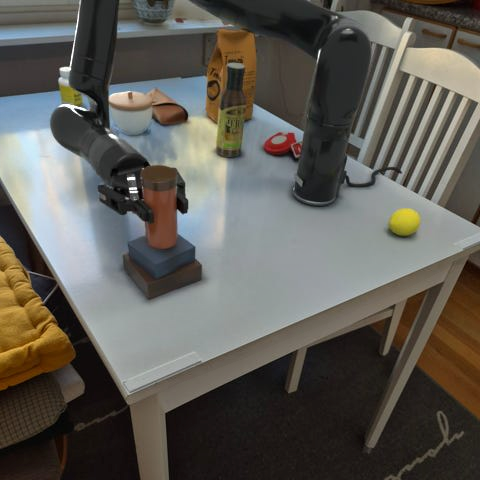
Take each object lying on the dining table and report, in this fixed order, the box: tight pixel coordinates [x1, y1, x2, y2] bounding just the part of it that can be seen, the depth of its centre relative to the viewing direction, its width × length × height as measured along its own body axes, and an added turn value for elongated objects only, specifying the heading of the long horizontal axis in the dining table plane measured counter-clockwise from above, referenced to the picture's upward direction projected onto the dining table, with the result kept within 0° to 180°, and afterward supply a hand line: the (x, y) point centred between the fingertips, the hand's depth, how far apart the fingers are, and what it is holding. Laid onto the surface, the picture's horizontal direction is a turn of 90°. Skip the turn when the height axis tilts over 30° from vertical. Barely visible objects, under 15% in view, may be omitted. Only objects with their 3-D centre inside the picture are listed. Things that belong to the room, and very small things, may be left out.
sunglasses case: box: [145, 86, 189, 126], centre depth 130 cm, size 18×7×7 cm, turn 35°
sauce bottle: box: [215, 63, 246, 158], centre depth 109 cm, size 6×6×20 cm
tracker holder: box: [263, 131, 302, 160], centre depth 118 cm, size 12×4×10 cm
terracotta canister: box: [140, 164, 179, 249], centre depth 71 cm, size 5×5×11 cm
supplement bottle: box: [58, 66, 84, 109], centre depth 125 cm, size 5×5×10 cm
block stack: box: [122, 233, 203, 300], centre depth 78 cm, size 10×9×6 cm
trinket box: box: [109, 90, 153, 136], centre depth 118 cm, size 11×11×9 cm
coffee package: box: [205, 28, 258, 124], centre depth 125 cm, size 10×12×22 cm
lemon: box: [388, 207, 421, 236], centre depth 93 cm, size 7×5×5 cm
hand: (169, 212), depth 69 cm, fingers closed on terracotta canister, 5 cm apart
